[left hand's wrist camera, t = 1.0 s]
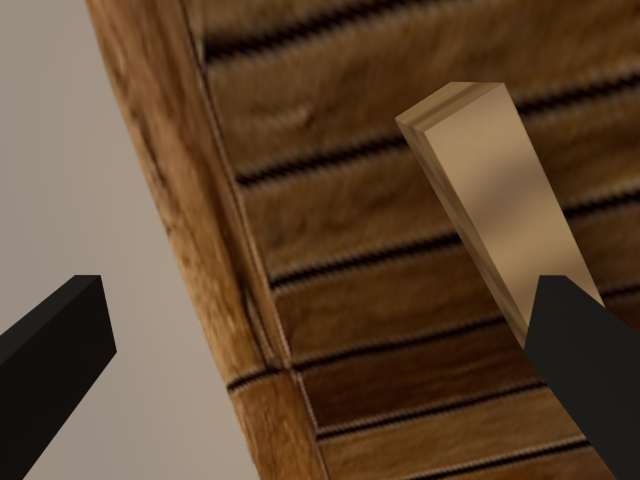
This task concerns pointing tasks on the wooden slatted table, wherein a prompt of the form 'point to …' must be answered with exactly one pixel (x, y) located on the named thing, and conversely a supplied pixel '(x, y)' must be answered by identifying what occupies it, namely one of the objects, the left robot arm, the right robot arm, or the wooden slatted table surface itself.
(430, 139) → the bar
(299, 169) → the wooden slatted table surface
